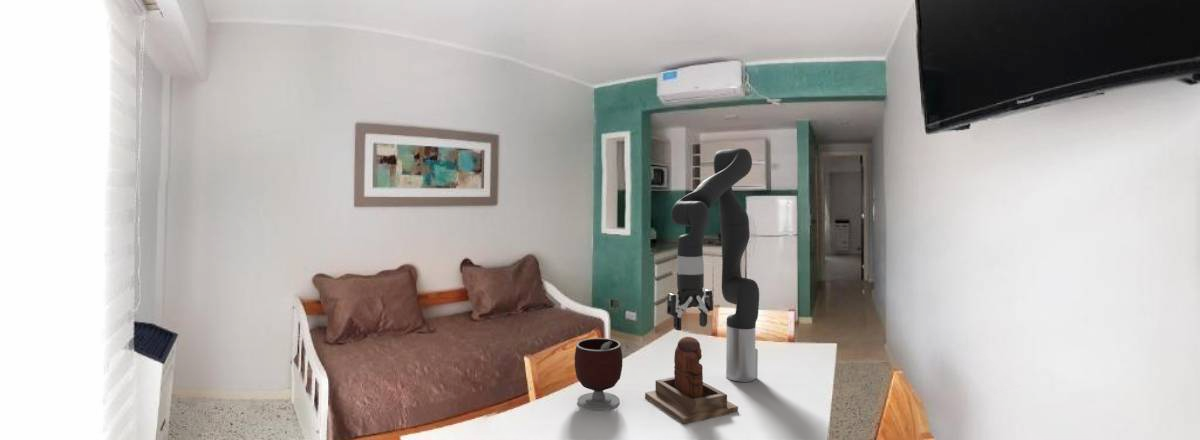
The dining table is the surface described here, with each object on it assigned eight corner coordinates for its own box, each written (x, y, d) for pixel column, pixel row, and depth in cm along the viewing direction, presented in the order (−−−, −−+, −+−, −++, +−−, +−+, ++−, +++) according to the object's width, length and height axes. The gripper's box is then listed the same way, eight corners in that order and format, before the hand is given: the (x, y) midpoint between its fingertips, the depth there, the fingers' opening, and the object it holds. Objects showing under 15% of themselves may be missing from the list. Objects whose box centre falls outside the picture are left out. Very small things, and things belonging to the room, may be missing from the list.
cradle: (694, 387, 157) (695, 371, 157) (738, 411, 139) (738, 394, 139) (645, 397, 149) (645, 380, 149) (683, 424, 131) (683, 405, 131)
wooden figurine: (709, 406, 139) (710, 341, 139) (689, 409, 137) (689, 343, 137) (689, 390, 151) (689, 331, 150) (669, 393, 149) (670, 333, 148)
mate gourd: (568, 397, 150) (567, 330, 149) (610, 390, 155) (610, 326, 154) (587, 417, 135) (587, 344, 135) (633, 409, 141) (633, 338, 140)
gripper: (702, 268, 149) (702, 322, 150) (661, 271, 143) (662, 328, 144) (718, 271, 142) (719, 328, 143) (676, 275, 136) (677, 334, 137)
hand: (690, 328), depth 143 cm, fingers open, 8 cm apart
